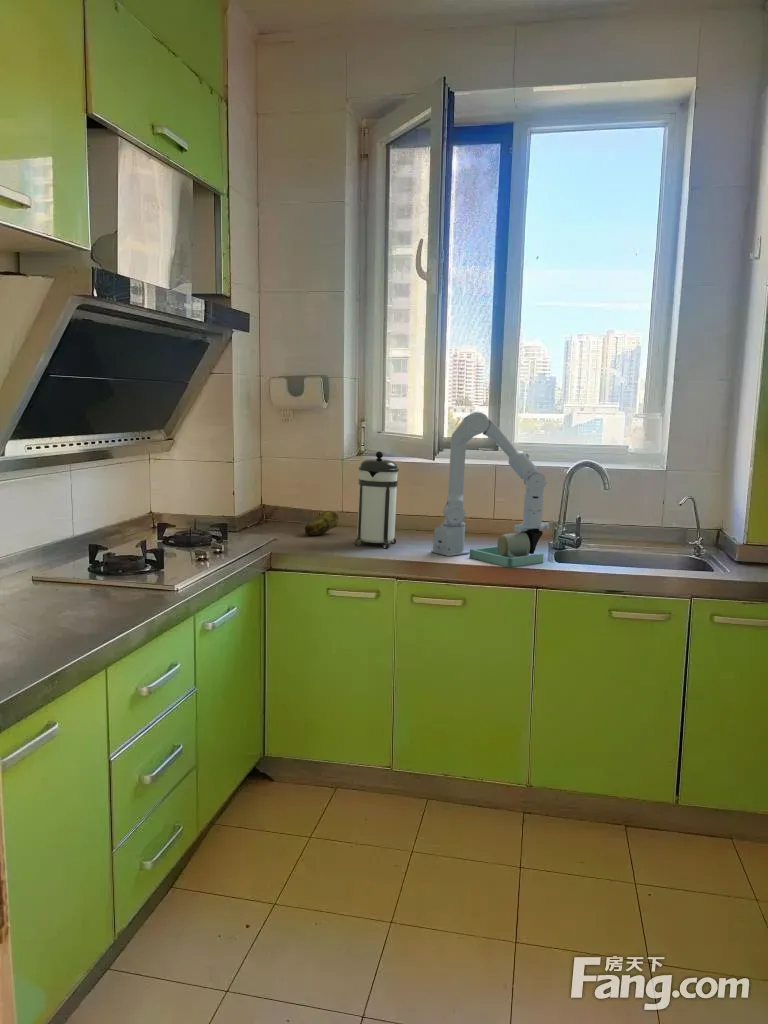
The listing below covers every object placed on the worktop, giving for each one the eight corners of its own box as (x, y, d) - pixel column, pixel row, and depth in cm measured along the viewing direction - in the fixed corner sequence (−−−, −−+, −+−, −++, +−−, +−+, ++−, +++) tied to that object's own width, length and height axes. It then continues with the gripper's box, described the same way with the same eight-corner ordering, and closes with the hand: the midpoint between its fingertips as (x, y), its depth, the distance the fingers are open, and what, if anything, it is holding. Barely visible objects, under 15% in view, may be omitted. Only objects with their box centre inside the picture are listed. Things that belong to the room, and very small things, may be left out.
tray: (509, 567, 221) (510, 558, 221) (469, 557, 233) (469, 549, 233) (542, 562, 231) (543, 554, 230) (502, 553, 243) (503, 545, 242)
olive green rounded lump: (298, 533, 263) (299, 510, 262) (333, 532, 269) (333, 509, 268) (307, 537, 255) (308, 513, 254) (343, 536, 261) (343, 512, 260)
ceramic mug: (495, 555, 238) (496, 530, 237) (519, 554, 240) (521, 530, 239) (509, 562, 228) (511, 537, 227) (534, 562, 230) (536, 536, 229)
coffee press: (409, 547, 245) (414, 453, 241) (364, 549, 238) (368, 452, 234) (385, 538, 260) (389, 449, 256) (342, 540, 253) (345, 448, 249)
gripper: (528, 513, 229) (525, 557, 231) (558, 510, 239) (555, 553, 241) (509, 509, 235) (507, 553, 237) (540, 507, 244) (537, 549, 246)
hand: (530, 553), depth 239 cm, fingers closed
